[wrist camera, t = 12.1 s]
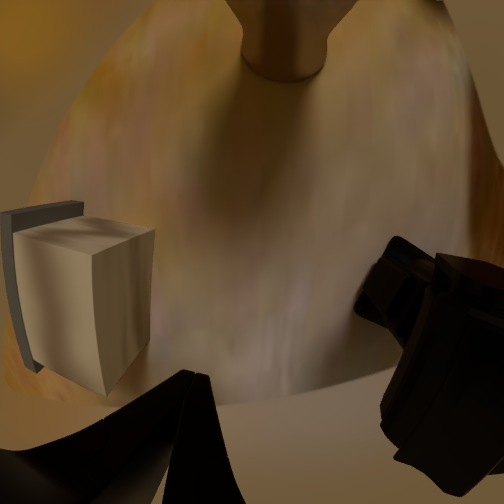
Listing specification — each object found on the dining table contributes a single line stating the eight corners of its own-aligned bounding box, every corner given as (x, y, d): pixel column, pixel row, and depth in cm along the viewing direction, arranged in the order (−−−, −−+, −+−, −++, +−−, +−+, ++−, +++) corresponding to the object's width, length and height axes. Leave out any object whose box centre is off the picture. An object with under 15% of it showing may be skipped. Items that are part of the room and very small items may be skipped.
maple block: (155, 228, 19) (91, 255, 11) (150, 338, 21) (106, 397, 14) (83, 215, 19) (13, 233, 12) (86, 316, 22) (33, 359, 14)
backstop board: (83, 202, 19) (11, 214, 11) (86, 329, 22) (36, 373, 14) (71, 200, 19) (0, 212, 11) (75, 324, 22) (24, 366, 14)
